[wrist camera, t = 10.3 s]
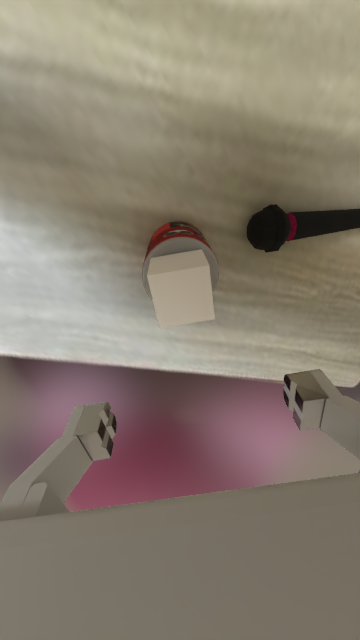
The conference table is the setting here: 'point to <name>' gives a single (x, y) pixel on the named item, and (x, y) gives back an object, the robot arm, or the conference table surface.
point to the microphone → (296, 225)
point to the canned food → (178, 248)
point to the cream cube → (181, 288)
